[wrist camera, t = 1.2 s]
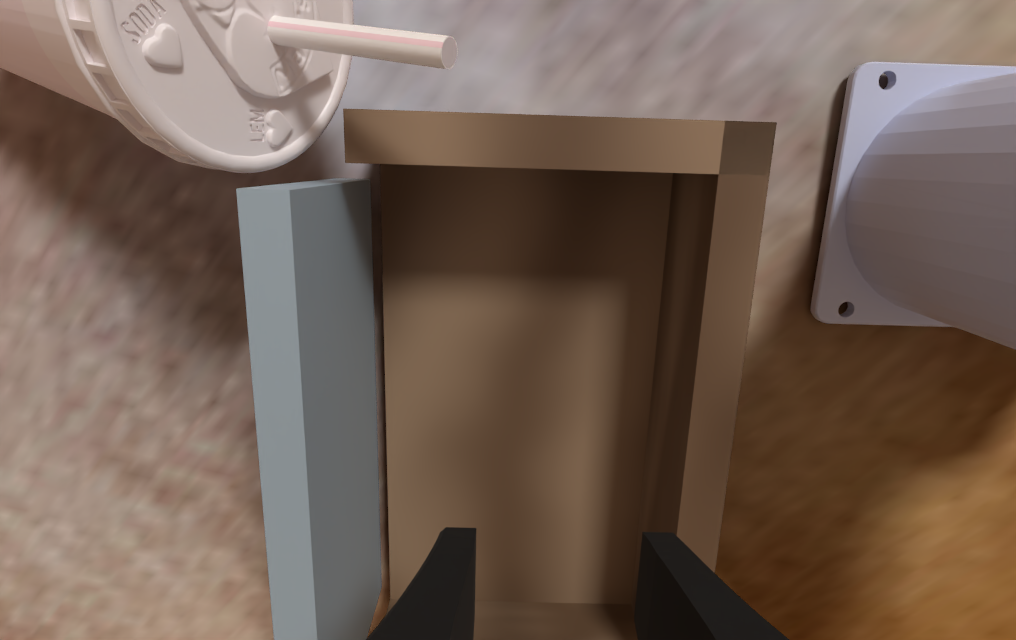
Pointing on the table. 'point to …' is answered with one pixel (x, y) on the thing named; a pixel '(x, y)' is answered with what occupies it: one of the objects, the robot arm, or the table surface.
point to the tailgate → (315, 401)
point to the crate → (561, 346)
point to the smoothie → (206, 68)
